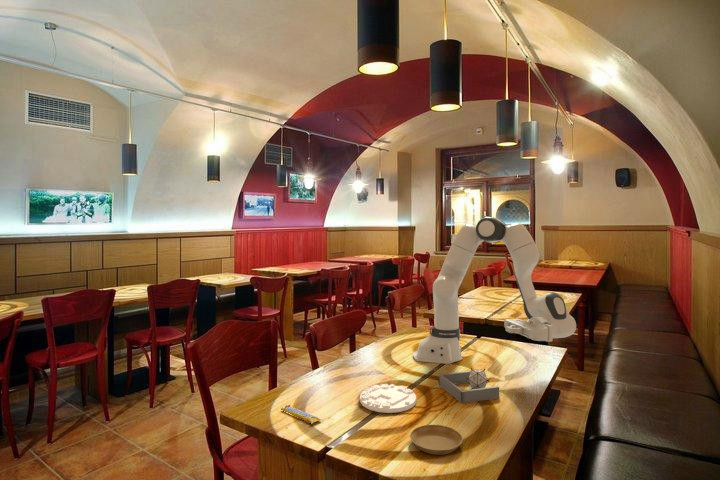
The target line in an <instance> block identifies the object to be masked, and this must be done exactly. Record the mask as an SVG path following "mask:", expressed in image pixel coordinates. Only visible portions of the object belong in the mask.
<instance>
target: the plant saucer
mask: <svg viewBox="0 0 720 480" xmlns="http://www.w3.org/2000/svg"><path fill="white" fill-rule="evenodd" d="M409 437H410V440H411V442H412V443H413V444H414V445H415V446H416V447H417V448H418V449H419V450H420V451H422V452H424V453H427V454H430V455H438V456H441V455H442V456H443V455H449V454H450V453H453V452H454V451H456V450H457V449H458V448H459V447H460V446H461V445H462V443H463V440H464V439H463V435H462V434H461V433H460V432H459V431H458V430H456V429H454V428H452V427H449V426H445V425H440V424H425V425H421V426H420V425H419V426H417V427H415V428H413V429H412V431H411V432H410V434H409Z"/></svg>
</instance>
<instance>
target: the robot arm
mask: <svg viewBox="0 0 720 480" xmlns="http://www.w3.org/2000/svg"><path fill="white" fill-rule="evenodd" d="M483 242H486V243H490V244H491V243H492V244H493V243H495V244H497V243H500V242H502V243H503V244H504V245H505V246H506V249H507V250H508V253H509V255H510V257H511V260H512V264H513V275H514V277H515V281H516V285H517V288H518V290H519V293H520V296H521V298H522V302H523V303H522V304H523V311H524V314H525V316H526V317H527V318H528V321H527V320H524V319H520V318H505V319H504V322H503V324H504V325H503V327H504V328H505V331H506V332H507V333H509V334H517V335H521V336H523V337H525V338H527V339H531V340H532V341H537V342H546V343H550V342H553V339H563V338H567V337H571V336H572V335H573V334H574V333H575V332H576V330H577V323H576V320H575V318H574V317H573V316H572V315H571V314H570V313H569V312H568V310H567V306H566V303H565V301H564V299H563V296H561V295H560V294H558V293H556V292H549V293H546V294H543V295H541V296H538V295H537V293H536V292H537V291H536V289H535V287H534V284H533V281H532V274H533V271H534V269H535V268H536V266H537V265H538V263H539V260H540V258H541V257H540V256H541V255H540V252H539V248H538V246H537V245H536V242H535V240H534V238H533V237H532V235H531V233H530V232H529V230H528V229H527V227H525V225H524V224H523V223H517V222H514V223H511V224H509V225H506V223H505V222H504V221H503V220H501V219H499V218H498V217H493V216H486V217H482V218H481V219H480V220H478V222H477V223H476V225H474V224H471V223H469V224H468V223H467V224H464V225H462V226H461V227H460V229H459V230H458V232H457V233H456V235H455V236H454V239H453V241H452V242H451V245H450V248H449V250H448V251H447V254H446V256H445V259H444V262H443V264H442V267H441V269H440V271H439V274H438V276H437V277H436V279H435V280H434V281H433V284H432V297H433V298H432V299H433V311H434V314H433V315H434V316H433V317H434V321H433V322H434V326H433V325H429V326H428V330H429V335H428V336H426V337H425V338H423V339H422V340H421V341H420V342H419V344H418V348H417V350H415V351H413V354H412V358H413V360H414V361H417V362H424V363H434V364H435V363H436V364H444V365H450V364H452V363H455V362H459V361H461V360H463V355H462V351H461V348H460V347H461V345H460V338H461V330H460V327H459V325H460V324H459V323H460V322H459V321H460V320H459V319H460V317H459V315H460V314H459V313H460V311H459V297H458V295H459V289H460V287H461V285H462V282H463V280H464V277H465V276H466V274H467V272H468V269H469V267H470V264H471V263H472V260H473V259H474V256H475V254H476V251H477V249H478V248H479V246H480V245H481V243H483Z"/></svg>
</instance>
